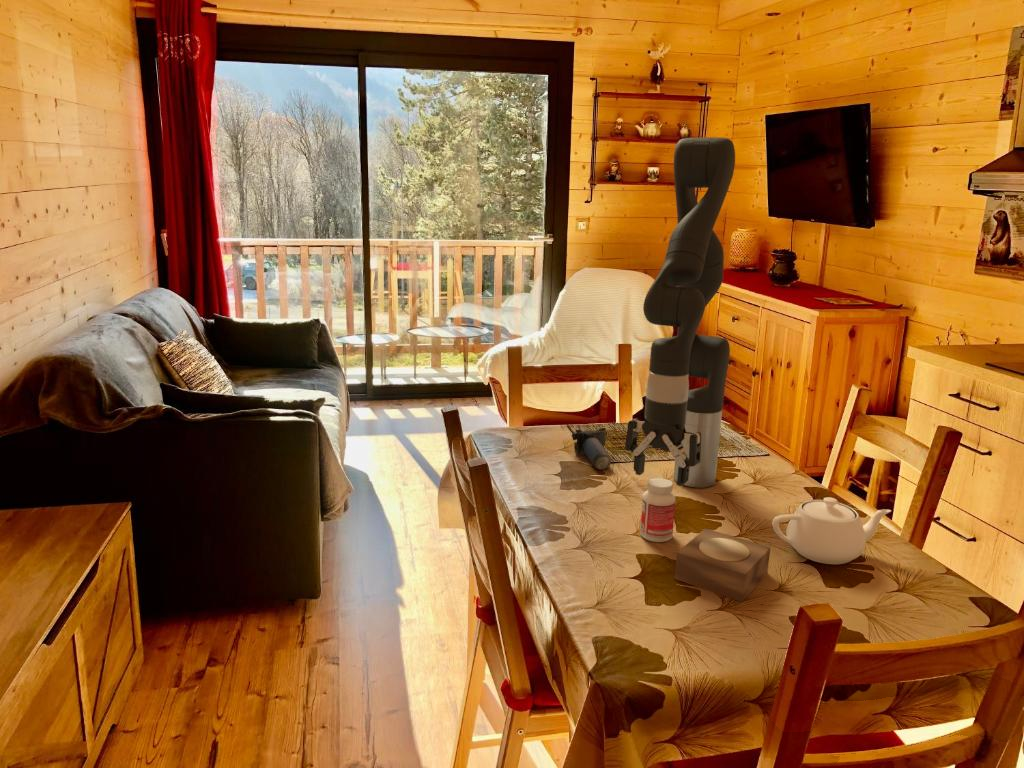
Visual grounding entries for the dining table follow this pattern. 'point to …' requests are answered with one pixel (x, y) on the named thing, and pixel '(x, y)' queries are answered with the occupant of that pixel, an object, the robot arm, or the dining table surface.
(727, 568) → the pedestal
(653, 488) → the pill bottle
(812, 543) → the teapot
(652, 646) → the dining table surface
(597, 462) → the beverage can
